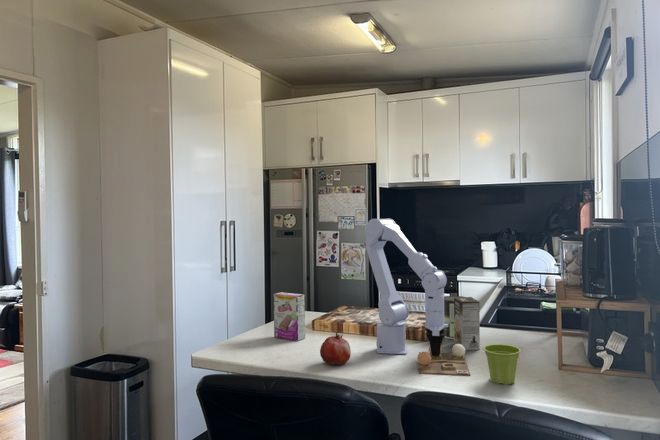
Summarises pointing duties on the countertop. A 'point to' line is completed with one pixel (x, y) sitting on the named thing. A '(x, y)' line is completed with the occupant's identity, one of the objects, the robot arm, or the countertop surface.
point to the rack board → (445, 365)
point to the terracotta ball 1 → (424, 358)
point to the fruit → (335, 350)
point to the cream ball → (458, 350)
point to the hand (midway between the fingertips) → (435, 353)
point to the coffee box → (467, 322)
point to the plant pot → (502, 362)
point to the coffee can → (449, 316)
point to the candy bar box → (289, 316)
